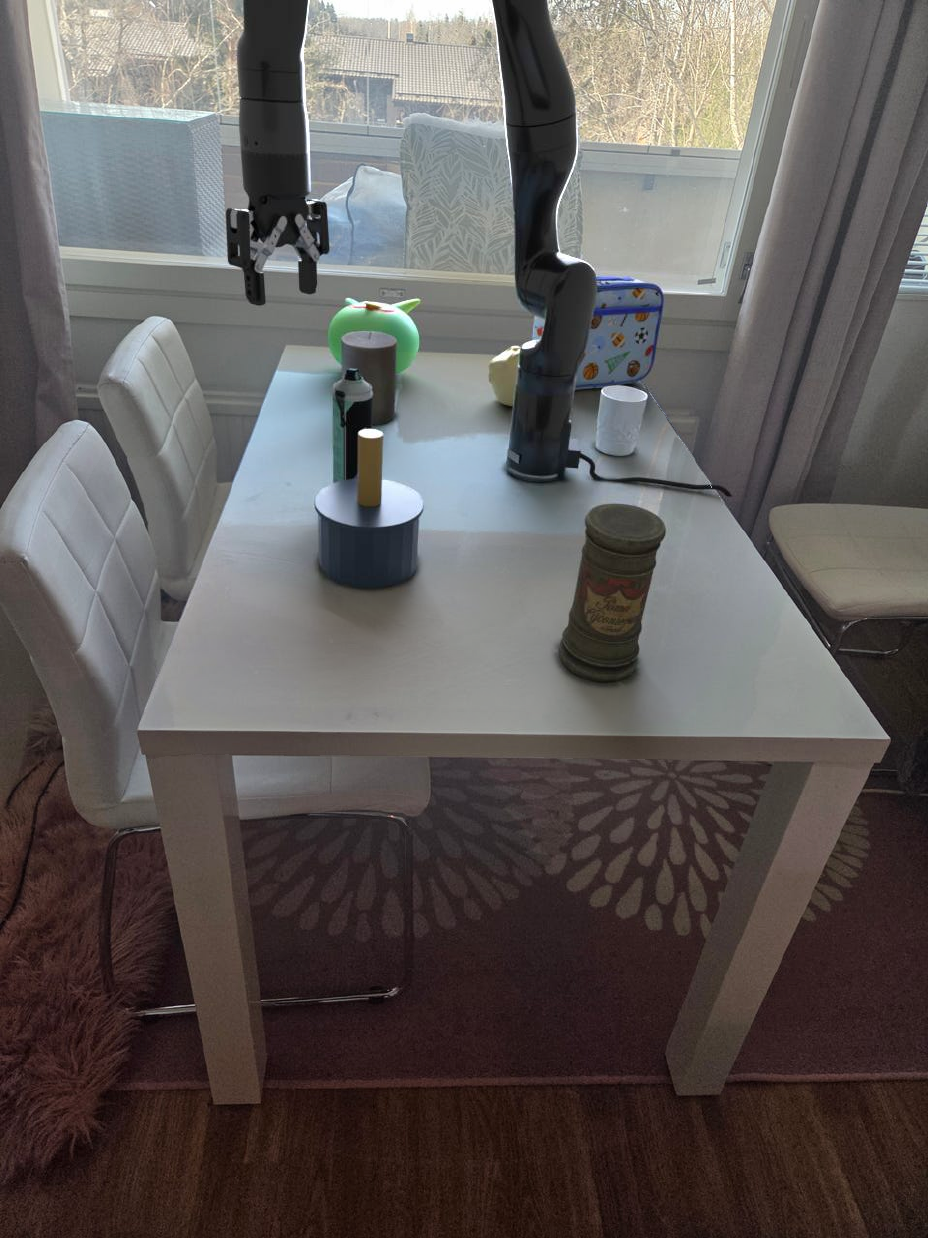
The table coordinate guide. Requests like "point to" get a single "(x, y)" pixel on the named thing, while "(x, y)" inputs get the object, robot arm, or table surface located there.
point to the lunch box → (619, 333)
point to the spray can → (349, 422)
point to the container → (611, 592)
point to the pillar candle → (374, 368)
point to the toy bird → (377, 327)
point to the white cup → (619, 419)
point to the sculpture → (504, 375)
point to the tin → (367, 555)
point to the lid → (369, 494)
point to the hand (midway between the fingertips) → (283, 298)
